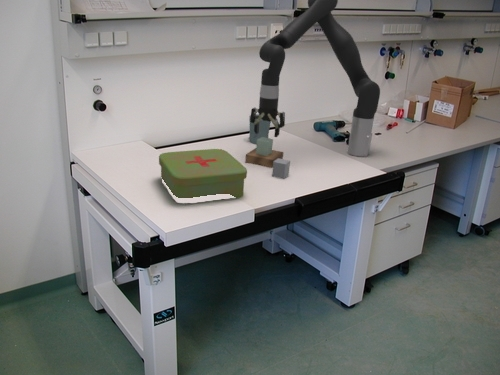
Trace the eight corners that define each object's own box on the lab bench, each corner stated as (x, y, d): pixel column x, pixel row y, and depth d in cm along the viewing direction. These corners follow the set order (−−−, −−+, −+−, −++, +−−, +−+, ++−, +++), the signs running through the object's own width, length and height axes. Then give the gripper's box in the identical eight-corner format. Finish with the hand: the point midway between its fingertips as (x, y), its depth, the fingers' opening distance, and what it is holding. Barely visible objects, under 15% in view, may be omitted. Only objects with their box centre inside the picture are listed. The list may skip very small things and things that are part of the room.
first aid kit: (175, 207, 159) (175, 178, 156) (156, 178, 181) (156, 152, 177) (249, 198, 170) (251, 171, 166) (222, 172, 191) (223, 147, 188)
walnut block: (282, 160, 209) (283, 152, 207) (272, 169, 199) (272, 159, 197) (256, 155, 213) (257, 146, 212) (245, 163, 203) (245, 154, 201)
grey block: (288, 175, 192) (290, 160, 190) (284, 179, 188) (285, 164, 186) (276, 172, 194) (278, 158, 192) (272, 176, 190) (273, 161, 188)
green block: (271, 153, 205) (273, 139, 203) (266, 156, 201) (267, 142, 199) (261, 150, 207) (262, 137, 205) (255, 153, 203) (256, 139, 201)
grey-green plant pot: (244, 142, 228) (246, 117, 223) (252, 137, 237) (254, 112, 232) (265, 146, 225) (267, 120, 220) (272, 140, 233) (274, 116, 229)
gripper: (289, 96, 196) (285, 135, 202) (256, 91, 201) (254, 130, 207) (282, 100, 189) (279, 140, 195) (249, 95, 194) (246, 134, 201)
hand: (266, 135), depth 201 cm, fingers open, 8 cm apart
